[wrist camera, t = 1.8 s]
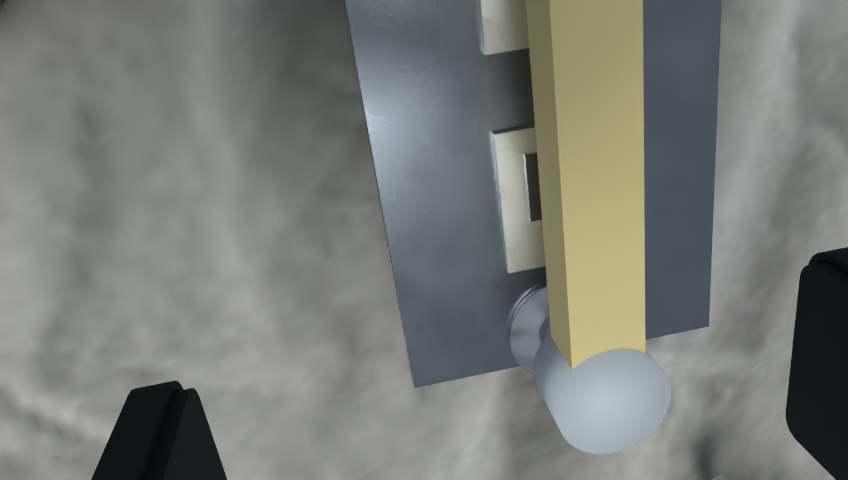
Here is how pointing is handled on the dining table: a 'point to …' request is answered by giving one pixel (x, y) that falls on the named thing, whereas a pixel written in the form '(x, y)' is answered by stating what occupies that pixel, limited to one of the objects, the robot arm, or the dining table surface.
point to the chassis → (519, 173)
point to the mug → (720, 478)
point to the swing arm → (593, 222)
